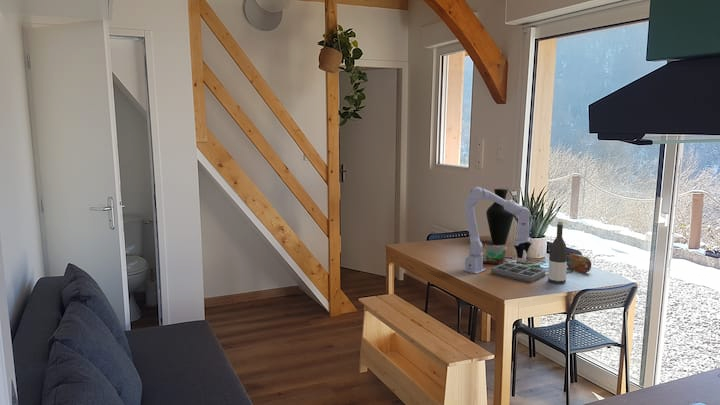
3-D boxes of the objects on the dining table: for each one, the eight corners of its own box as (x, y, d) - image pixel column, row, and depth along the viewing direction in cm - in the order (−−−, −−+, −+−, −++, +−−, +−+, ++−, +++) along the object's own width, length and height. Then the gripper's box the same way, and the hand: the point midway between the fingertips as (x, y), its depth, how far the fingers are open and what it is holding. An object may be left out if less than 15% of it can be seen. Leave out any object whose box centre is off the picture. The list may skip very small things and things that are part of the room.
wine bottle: (556, 285, 243) (560, 223, 239) (544, 280, 251) (547, 220, 246) (569, 282, 246) (573, 222, 242) (556, 278, 254) (560, 219, 249)
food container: (481, 263, 281) (482, 245, 280) (484, 260, 287) (485, 243, 285) (504, 266, 276) (504, 248, 274) (506, 263, 281) (507, 245, 280)
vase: (485, 245, 321) (487, 191, 316) (485, 239, 338) (486, 187, 332) (513, 247, 317) (516, 191, 312) (511, 240, 334) (514, 188, 328)
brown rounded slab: (564, 267, 273) (565, 252, 272) (569, 266, 274) (570, 251, 273) (587, 274, 259) (588, 258, 258) (591, 274, 261) (592, 258, 259)
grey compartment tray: (531, 282, 247) (531, 276, 246) (491, 273, 262) (491, 268, 262) (545, 276, 257) (545, 270, 257) (505, 267, 273) (505, 262, 272)
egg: (523, 262, 258) (524, 250, 257) (516, 260, 261) (516, 249, 260) (527, 260, 261) (527, 249, 260) (520, 259, 264) (520, 247, 263)
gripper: (523, 234, 251) (522, 261, 253) (537, 230, 261) (535, 255, 263) (510, 232, 256) (509, 258, 258) (524, 228, 266) (523, 253, 268)
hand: (521, 256), depth 261 cm, fingers closed on egg, 4 cm apart
